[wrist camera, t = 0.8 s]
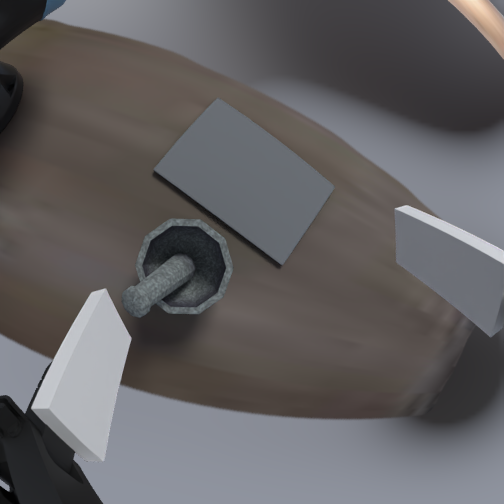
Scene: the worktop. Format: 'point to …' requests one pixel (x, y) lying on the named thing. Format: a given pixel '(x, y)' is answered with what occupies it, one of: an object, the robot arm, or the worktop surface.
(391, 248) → the worktop surface
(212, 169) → the rubber mat
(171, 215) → the worktop surface
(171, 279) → the mortar and pestle
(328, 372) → the worktop surface
